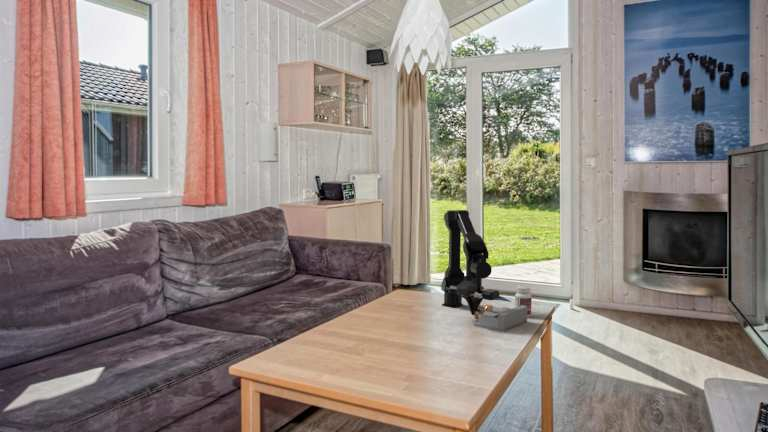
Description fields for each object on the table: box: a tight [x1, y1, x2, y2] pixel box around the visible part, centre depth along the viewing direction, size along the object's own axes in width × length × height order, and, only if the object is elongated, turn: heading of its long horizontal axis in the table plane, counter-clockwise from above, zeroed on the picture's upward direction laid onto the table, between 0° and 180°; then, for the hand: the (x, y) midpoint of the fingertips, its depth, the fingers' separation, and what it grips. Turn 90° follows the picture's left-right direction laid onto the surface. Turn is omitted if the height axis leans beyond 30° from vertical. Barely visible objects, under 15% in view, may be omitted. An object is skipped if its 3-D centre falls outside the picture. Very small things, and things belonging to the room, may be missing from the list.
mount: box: [473, 305, 528, 333], centre depth 204 cm, size 12×17×6 cm
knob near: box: [474, 308, 498, 322], centre depth 204 cm, size 8×5×4 cm, turn 49°
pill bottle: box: [514, 285, 533, 318], centre depth 216 cm, size 6×6×11 cm
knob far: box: [483, 304, 508, 312], centre depth 210 cm, size 8×5×4 cm, turn 49°
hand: (473, 314), depth 207 cm, fingers closed
